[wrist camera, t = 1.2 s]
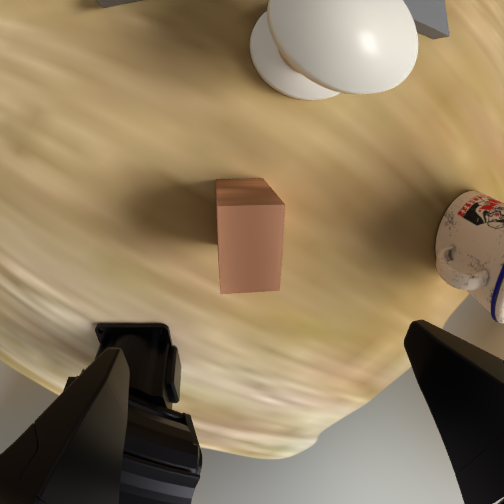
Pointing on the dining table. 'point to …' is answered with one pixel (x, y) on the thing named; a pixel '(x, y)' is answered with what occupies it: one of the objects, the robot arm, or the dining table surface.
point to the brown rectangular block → (249, 235)
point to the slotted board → (419, 4)
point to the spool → (334, 46)
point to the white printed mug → (474, 249)
